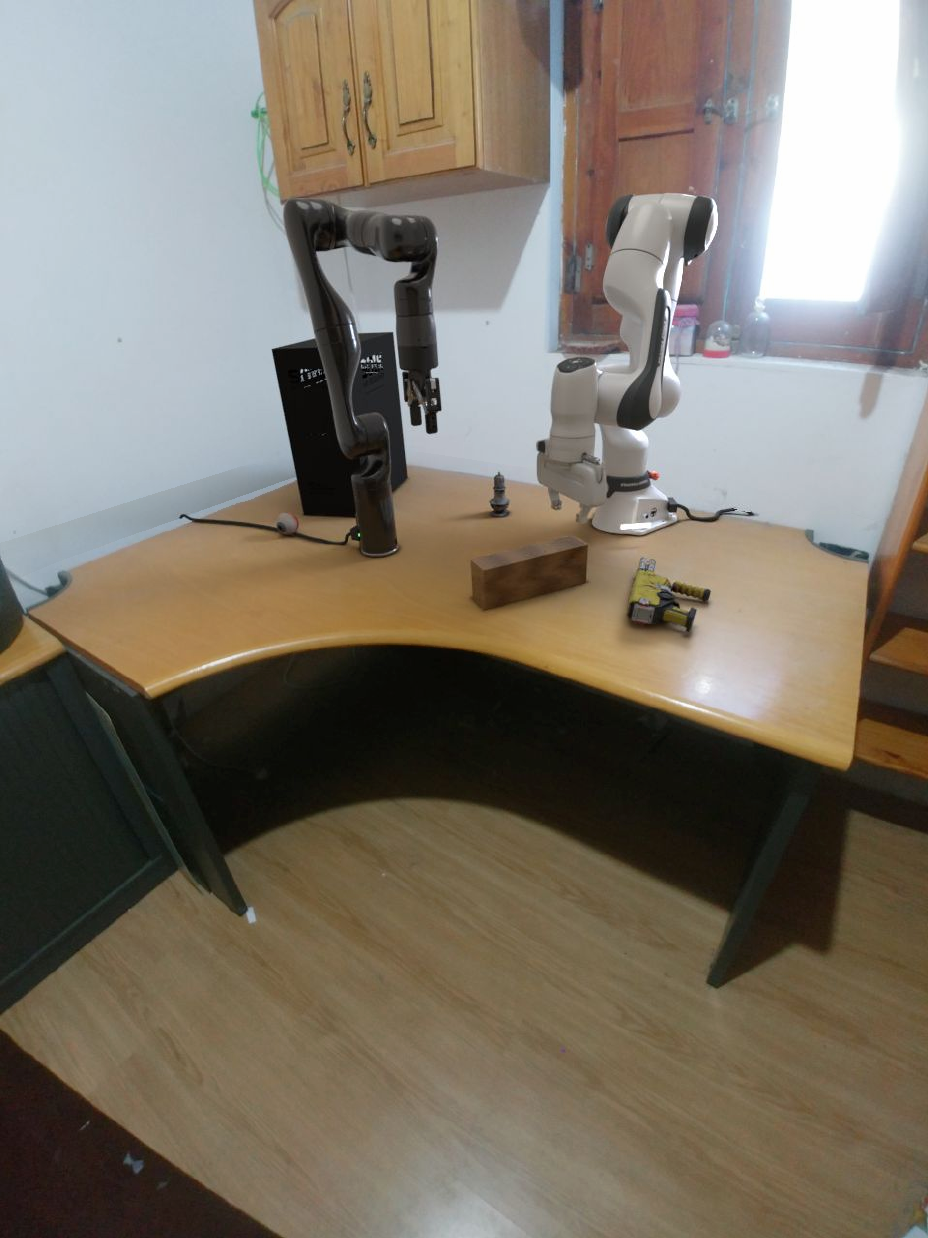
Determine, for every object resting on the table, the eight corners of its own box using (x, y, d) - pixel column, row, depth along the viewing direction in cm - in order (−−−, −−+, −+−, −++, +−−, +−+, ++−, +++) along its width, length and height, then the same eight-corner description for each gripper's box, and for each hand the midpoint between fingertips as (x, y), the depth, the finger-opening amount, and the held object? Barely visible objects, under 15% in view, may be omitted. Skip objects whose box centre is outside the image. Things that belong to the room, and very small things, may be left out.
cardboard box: (367, 516, 174) (344, 346, 151) (303, 514, 178) (271, 348, 156) (407, 477, 205) (393, 331, 183) (352, 476, 210) (331, 334, 187)
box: (570, 571, 136) (571, 534, 132) (586, 582, 131) (588, 544, 127) (472, 597, 128) (470, 559, 123) (485, 609, 123) (483, 570, 119)
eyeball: (273, 537, 164) (268, 516, 161) (287, 528, 169) (282, 508, 166) (291, 539, 161) (286, 518, 158) (305, 530, 166) (301, 510, 163)
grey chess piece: (508, 517, 168) (508, 474, 162) (488, 516, 169) (486, 474, 163) (511, 509, 173) (511, 468, 167) (491, 509, 174) (490, 468, 168)
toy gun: (712, 567, 127) (640, 554, 131) (714, 617, 107) (629, 601, 111) (706, 587, 130) (636, 574, 134) (707, 640, 109) (624, 623, 113)
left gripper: (386, 340, 118) (395, 425, 126) (411, 346, 107) (419, 439, 115) (421, 337, 121) (428, 420, 129) (450, 342, 109) (455, 433, 117)
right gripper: (617, 457, 111) (611, 528, 118) (557, 436, 127) (555, 499, 134) (589, 462, 109) (584, 534, 116) (531, 440, 125) (530, 504, 132)
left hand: (424, 429), depth 122 cm, fingers open, 8 cm apart
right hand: (568, 515), depth 125 cm, fingers open, 8 cm apart
